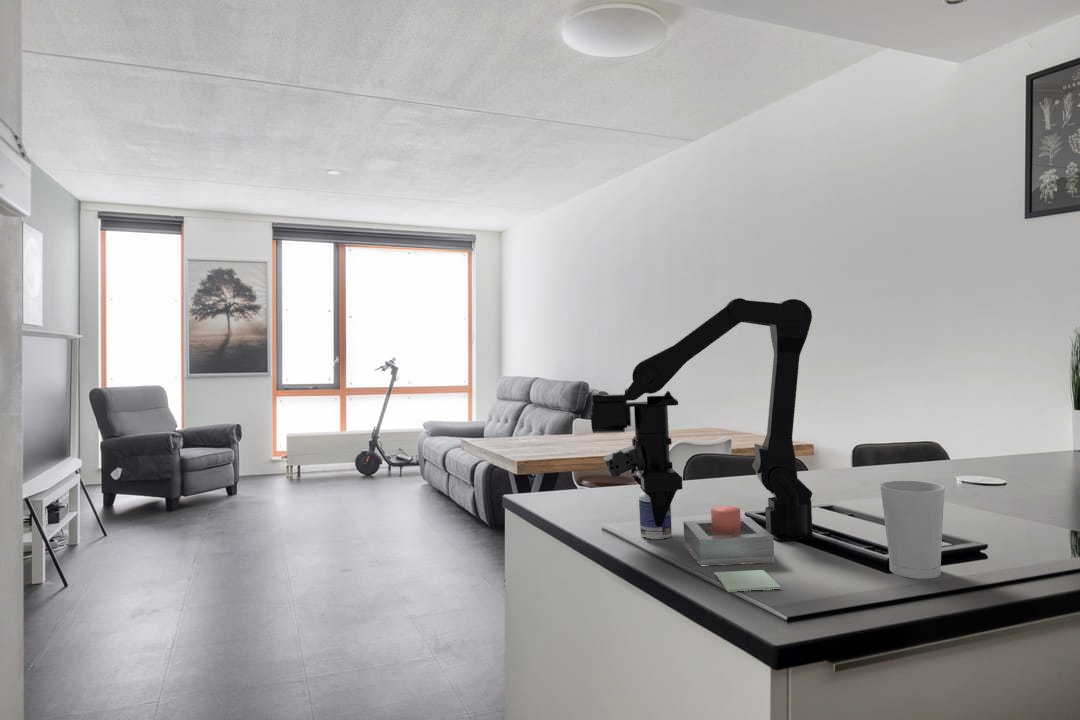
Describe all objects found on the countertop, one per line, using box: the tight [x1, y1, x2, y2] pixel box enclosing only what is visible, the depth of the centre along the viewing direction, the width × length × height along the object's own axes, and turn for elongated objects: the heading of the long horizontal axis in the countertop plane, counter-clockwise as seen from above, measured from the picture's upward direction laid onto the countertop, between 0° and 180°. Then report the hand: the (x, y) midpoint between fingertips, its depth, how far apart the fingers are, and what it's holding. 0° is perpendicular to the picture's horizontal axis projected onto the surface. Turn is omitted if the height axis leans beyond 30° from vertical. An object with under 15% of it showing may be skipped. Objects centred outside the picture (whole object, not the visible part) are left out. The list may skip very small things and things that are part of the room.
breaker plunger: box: [710, 505, 741, 534], centre depth 110 cm, size 4×4×3 cm
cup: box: [879, 479, 946, 580], centre depth 98 cm, size 8×8×12 cm
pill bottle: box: [638, 490, 673, 540], centre depth 122 cm, size 5×5×10 cm
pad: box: [714, 569, 781, 593], centre depth 97 cm, size 7×7×1 cm
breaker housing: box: [683, 517, 775, 566], centre depth 110 cm, size 11×11×4 cm
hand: (655, 521), depth 122 cm, fingers closed on pill bottle, 5 cm apart
